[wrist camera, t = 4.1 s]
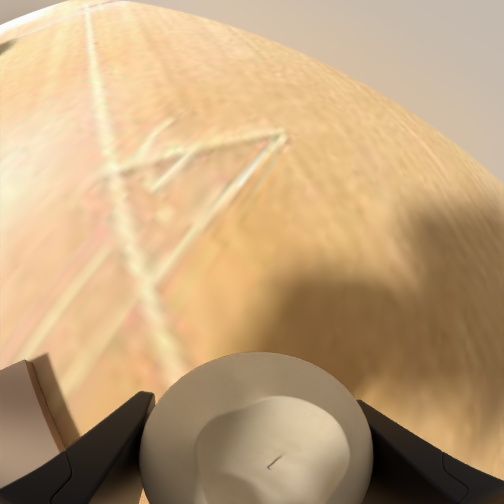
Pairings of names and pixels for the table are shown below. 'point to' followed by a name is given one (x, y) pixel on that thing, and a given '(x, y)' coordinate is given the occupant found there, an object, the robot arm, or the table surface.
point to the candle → (256, 436)
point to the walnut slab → (24, 424)
